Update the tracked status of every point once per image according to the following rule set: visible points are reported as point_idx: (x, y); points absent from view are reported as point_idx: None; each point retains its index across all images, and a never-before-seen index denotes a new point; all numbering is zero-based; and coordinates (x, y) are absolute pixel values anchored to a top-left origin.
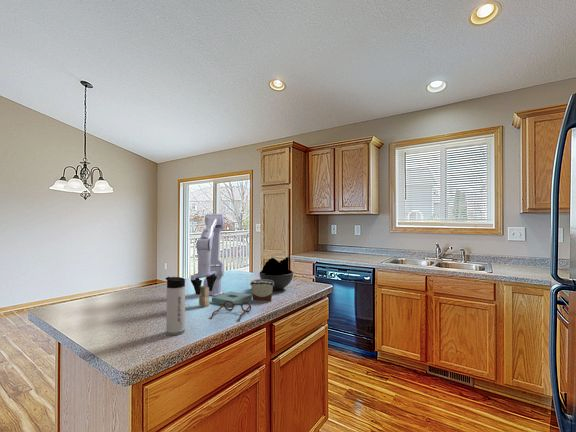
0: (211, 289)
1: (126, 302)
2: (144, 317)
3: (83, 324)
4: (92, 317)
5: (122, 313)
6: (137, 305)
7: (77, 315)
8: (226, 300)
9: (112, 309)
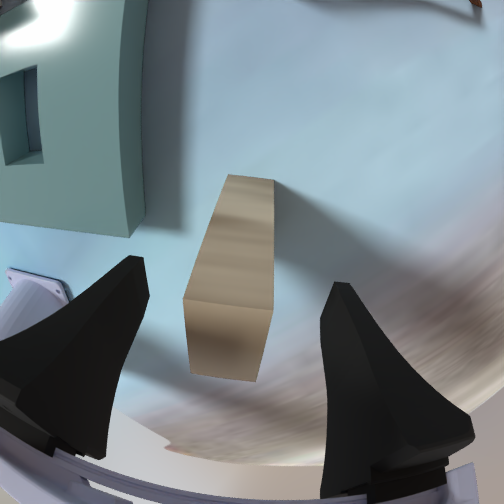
0: (132, 266)
1: (320, 438)
2: (474, 333)
3: (491, 383)
4: None
5: None
6: None
7: None
8: (120, 49)
9: None
